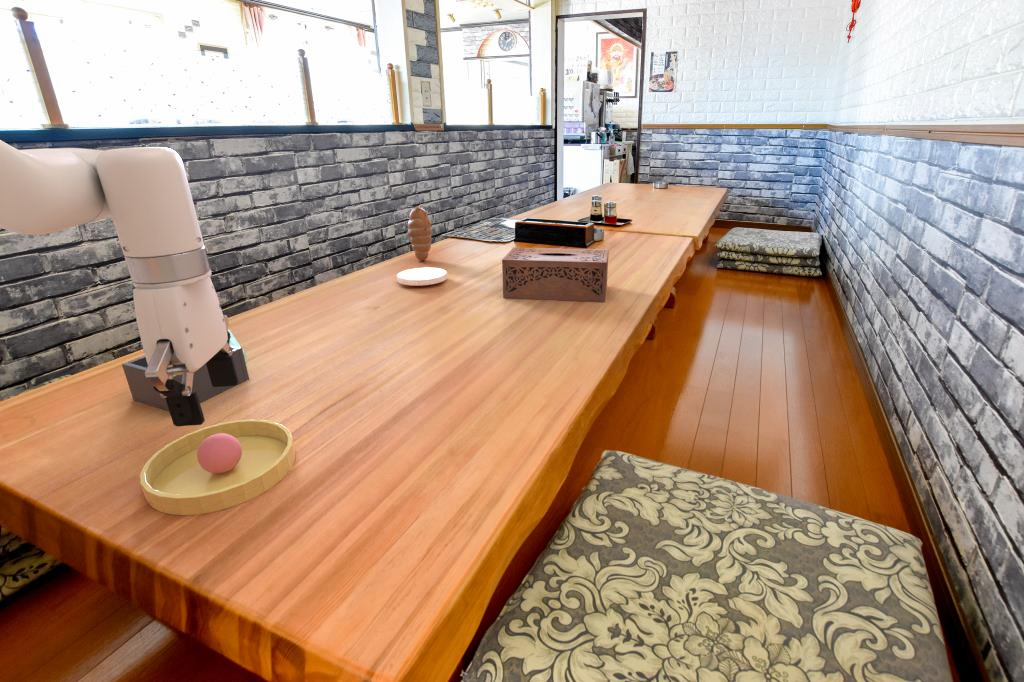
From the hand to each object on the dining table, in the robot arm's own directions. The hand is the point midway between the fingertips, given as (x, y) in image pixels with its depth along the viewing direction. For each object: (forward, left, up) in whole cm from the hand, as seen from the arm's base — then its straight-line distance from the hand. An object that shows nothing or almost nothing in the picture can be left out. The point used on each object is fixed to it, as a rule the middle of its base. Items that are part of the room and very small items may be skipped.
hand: (209, 403), depth 65 cm
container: (+27, +36, -11) cm, 47 cm away
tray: (0, 0, -10) cm, 10 cm away
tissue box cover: (+91, -11, -10) cm, 92 cm away
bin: (+14, +26, -10) cm, 31 cm away
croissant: (+108, +43, -10) cm, 117 cm away
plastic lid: (+86, +28, -10) cm, 91 cm away
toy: (0, 0, -10) cm, 10 cm away
